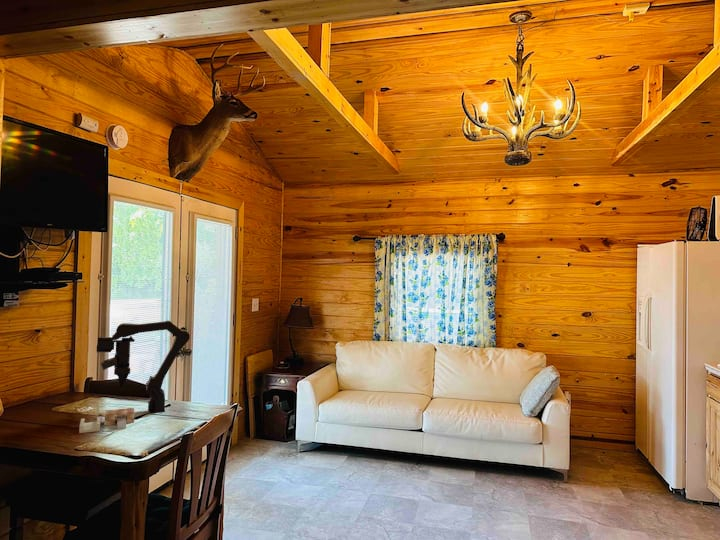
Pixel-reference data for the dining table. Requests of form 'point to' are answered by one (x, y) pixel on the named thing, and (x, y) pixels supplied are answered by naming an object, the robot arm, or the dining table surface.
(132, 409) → the tan u-shaped block
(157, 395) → the robot arm
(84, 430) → the cradle
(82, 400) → the dining table surface
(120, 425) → the pinkish brown square bar
